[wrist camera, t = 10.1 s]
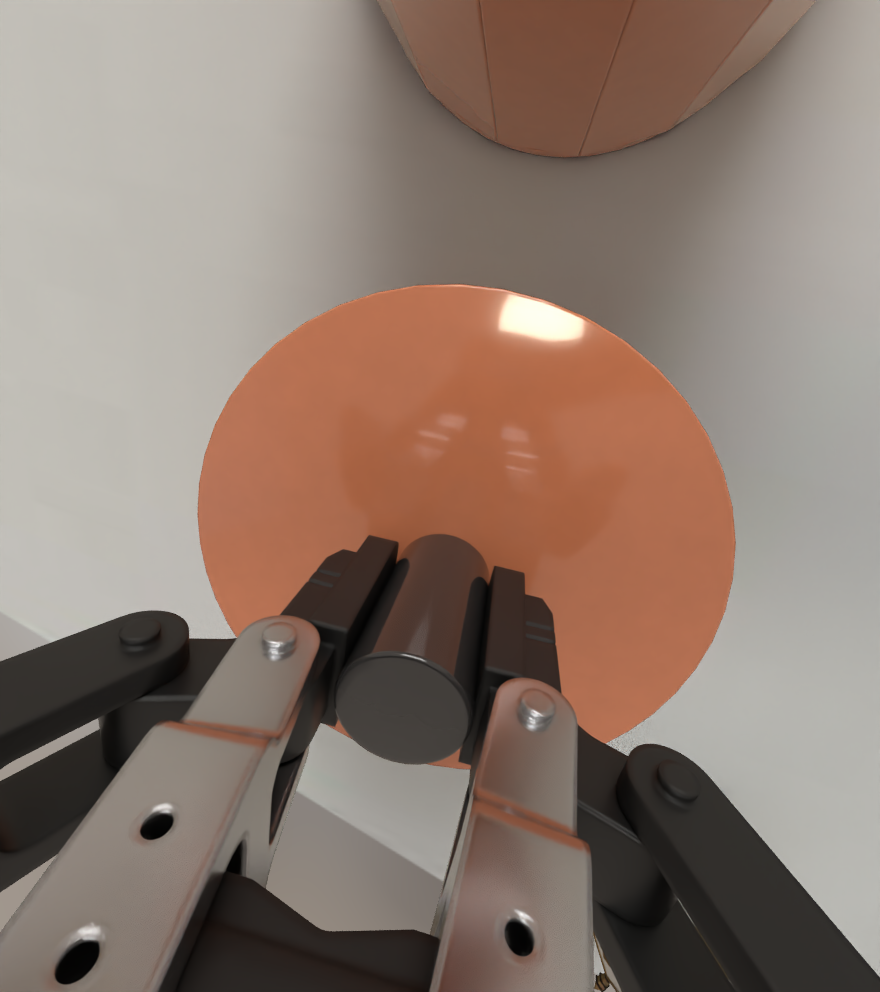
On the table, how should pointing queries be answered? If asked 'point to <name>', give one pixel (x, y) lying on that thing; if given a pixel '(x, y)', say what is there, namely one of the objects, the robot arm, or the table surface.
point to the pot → (583, 63)
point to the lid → (473, 504)
